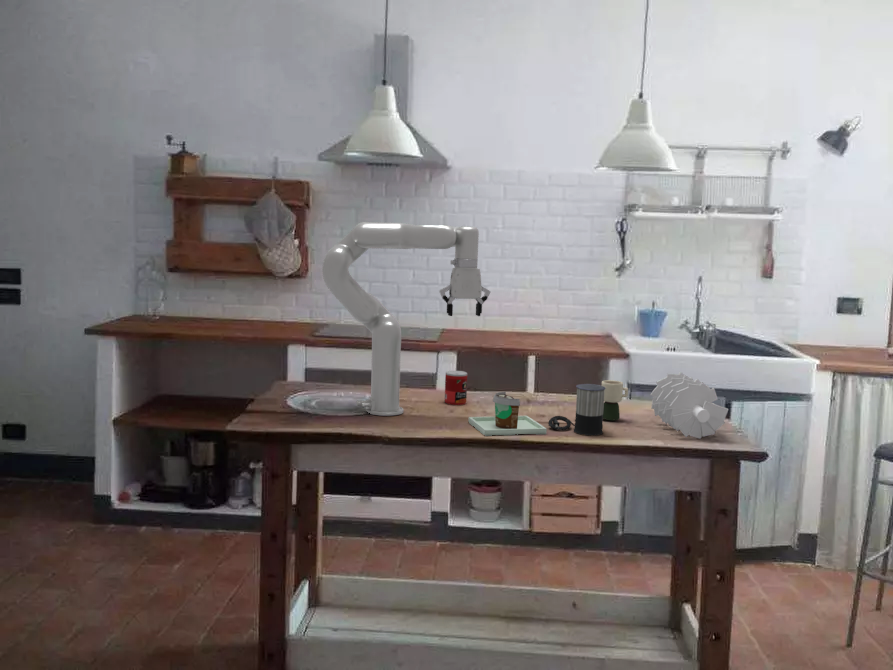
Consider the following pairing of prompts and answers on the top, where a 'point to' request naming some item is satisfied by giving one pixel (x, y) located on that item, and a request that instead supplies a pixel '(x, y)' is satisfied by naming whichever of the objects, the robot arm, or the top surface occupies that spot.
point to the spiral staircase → (687, 405)
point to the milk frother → (585, 411)
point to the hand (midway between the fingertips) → (464, 315)
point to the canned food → (455, 387)
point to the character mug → (613, 398)
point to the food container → (506, 411)
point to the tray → (523, 427)
